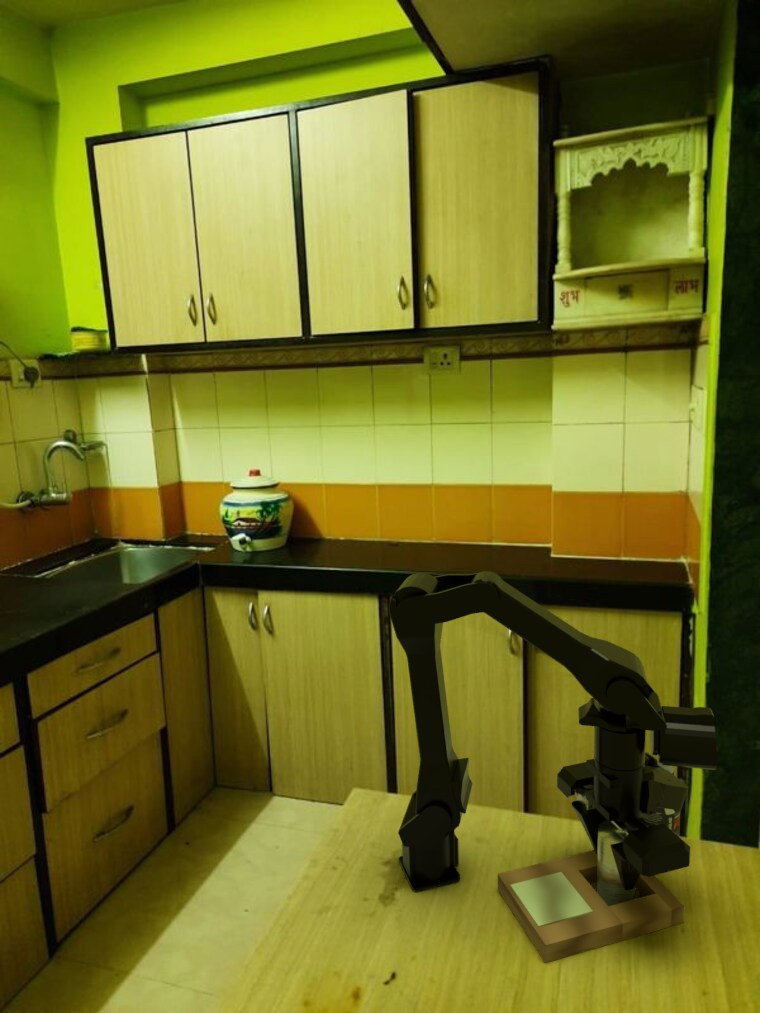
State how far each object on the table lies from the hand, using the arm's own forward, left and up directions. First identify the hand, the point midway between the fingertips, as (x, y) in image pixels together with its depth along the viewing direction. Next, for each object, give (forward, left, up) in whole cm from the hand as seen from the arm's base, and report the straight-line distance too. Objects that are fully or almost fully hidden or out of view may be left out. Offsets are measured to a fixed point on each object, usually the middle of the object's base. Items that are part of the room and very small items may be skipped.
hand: (616, 875), depth 86 cm
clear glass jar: (0, 0, -3) cm, 3 cm away
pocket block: (-4, 0, -3) cm, 5 cm away
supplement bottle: (+11, +7, -3) cm, 13 cm away
